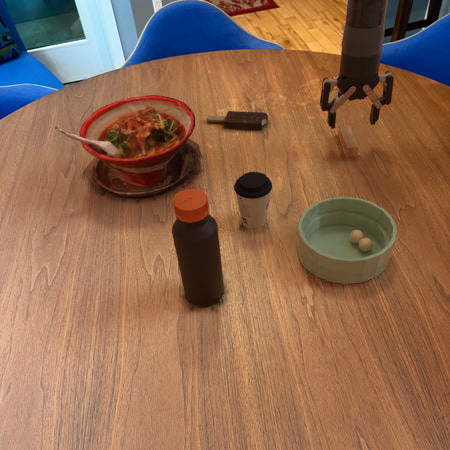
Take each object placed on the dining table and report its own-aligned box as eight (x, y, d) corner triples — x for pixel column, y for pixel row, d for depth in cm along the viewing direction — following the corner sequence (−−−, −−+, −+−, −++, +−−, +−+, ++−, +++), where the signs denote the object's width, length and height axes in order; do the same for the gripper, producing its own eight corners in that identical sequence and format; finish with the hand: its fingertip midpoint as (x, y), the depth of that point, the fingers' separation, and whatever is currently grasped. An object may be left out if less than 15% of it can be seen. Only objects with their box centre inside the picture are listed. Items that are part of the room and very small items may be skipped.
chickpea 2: (373, 235, 83) (369, 247, 82) (375, 243, 85) (371, 255, 84) (359, 234, 84) (355, 245, 83) (361, 242, 86) (357, 253, 85)
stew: (79, 221, 96) (51, 151, 84) (78, 156, 112) (54, 89, 100) (215, 195, 99) (207, 124, 86) (195, 135, 114) (186, 67, 102)
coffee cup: (239, 237, 90) (236, 194, 82) (233, 214, 95) (230, 171, 87) (275, 231, 90) (276, 188, 83) (268, 208, 95) (267, 165, 87)
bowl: (376, 218, 91) (382, 192, 86) (400, 281, 80) (408, 256, 76) (291, 226, 91) (292, 200, 87) (304, 289, 81) (306, 264, 76)
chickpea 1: (348, 243, 85) (361, 246, 85) (352, 230, 84) (365, 234, 84) (347, 239, 87) (360, 242, 87) (352, 226, 86) (365, 230, 86)
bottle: (211, 313, 79) (198, 220, 63) (177, 300, 81) (156, 207, 66) (231, 286, 82) (223, 191, 67) (198, 273, 85) (182, 179, 70)
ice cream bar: (204, 127, 116) (265, 130, 113) (203, 120, 115) (265, 124, 112) (209, 115, 119) (268, 118, 117) (208, 109, 118) (268, 112, 115)
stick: (348, 134, 110) (349, 124, 108) (357, 156, 104) (358, 147, 102) (337, 135, 110) (338, 125, 108) (345, 157, 104) (347, 148, 102)
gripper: (327, 59, 89) (322, 137, 101) (405, 50, 88) (390, 130, 101) (321, 42, 94) (316, 119, 106) (394, 34, 93) (381, 112, 105)
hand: (352, 124), depth 103 cm, fingers open, 8 cm apart
